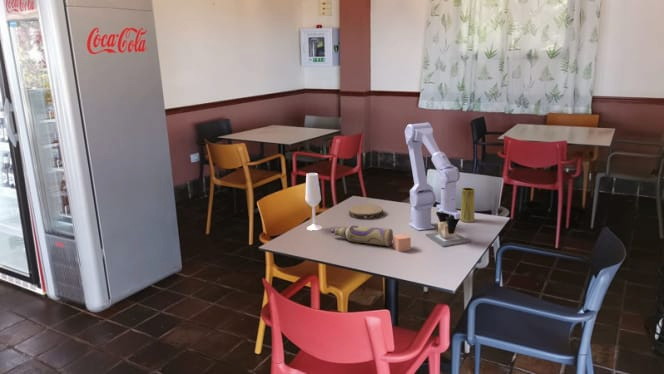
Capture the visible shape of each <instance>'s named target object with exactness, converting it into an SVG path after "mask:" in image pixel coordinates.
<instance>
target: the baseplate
mask: <svg viewBox="0 0 664 374" xmlns="http://www.w3.org/2000/svg"><path fill="white" fill-rule="evenodd" d="M425 237H427V238H428V239H429V240H432V241H433V242H435V243H436V244H438V245H439V246H440V247H443V248H447V247H451V246H453V247H454V246H459V245H464V244H471V243H472V242H471V240H469V239H468V238H466V237H464V236H462V235H461V234H459V233H457V232H456V236H455V237H449V238H444V237H442V236H440V235H439V234H438V231H437V232H432V233H426V234H425Z"/></svg>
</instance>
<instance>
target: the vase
mask: <svg viewBox="0 0 664 374" xmlns="http://www.w3.org/2000/svg"><path fill="white" fill-rule="evenodd" d="M475 191H476V190H475V188H474V187H463V188H462V189H461V203H460V220H459V221H460V222H463V223H474V222H475V221H476V220H475Z"/></svg>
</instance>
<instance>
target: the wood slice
mask: <svg viewBox="0 0 664 374" xmlns="http://www.w3.org/2000/svg"><path fill="white" fill-rule="evenodd" d="M348 215H349V216H348V217H350V218H353V219H355V220H361V221H362V220H364V221H367V220H375V219H379V218H382V217H383V215H384V207H382V206H381V205H378V204H373V203H372V204H371V203H362V204H361V203H360V204H356V205H353V206H352V205H351V206H350V207H349V208H348Z"/></svg>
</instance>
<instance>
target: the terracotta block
mask: <svg viewBox="0 0 664 374" xmlns="http://www.w3.org/2000/svg"><path fill="white" fill-rule="evenodd" d="M411 240H412V239H411V237H410V236H409V235H407V233H399V234H393V241H392V248H393V249H394V250H396V252H399V253H400V252H405V251H411V250H412V249H411V245H412V244H411V243H412V242H411Z"/></svg>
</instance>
